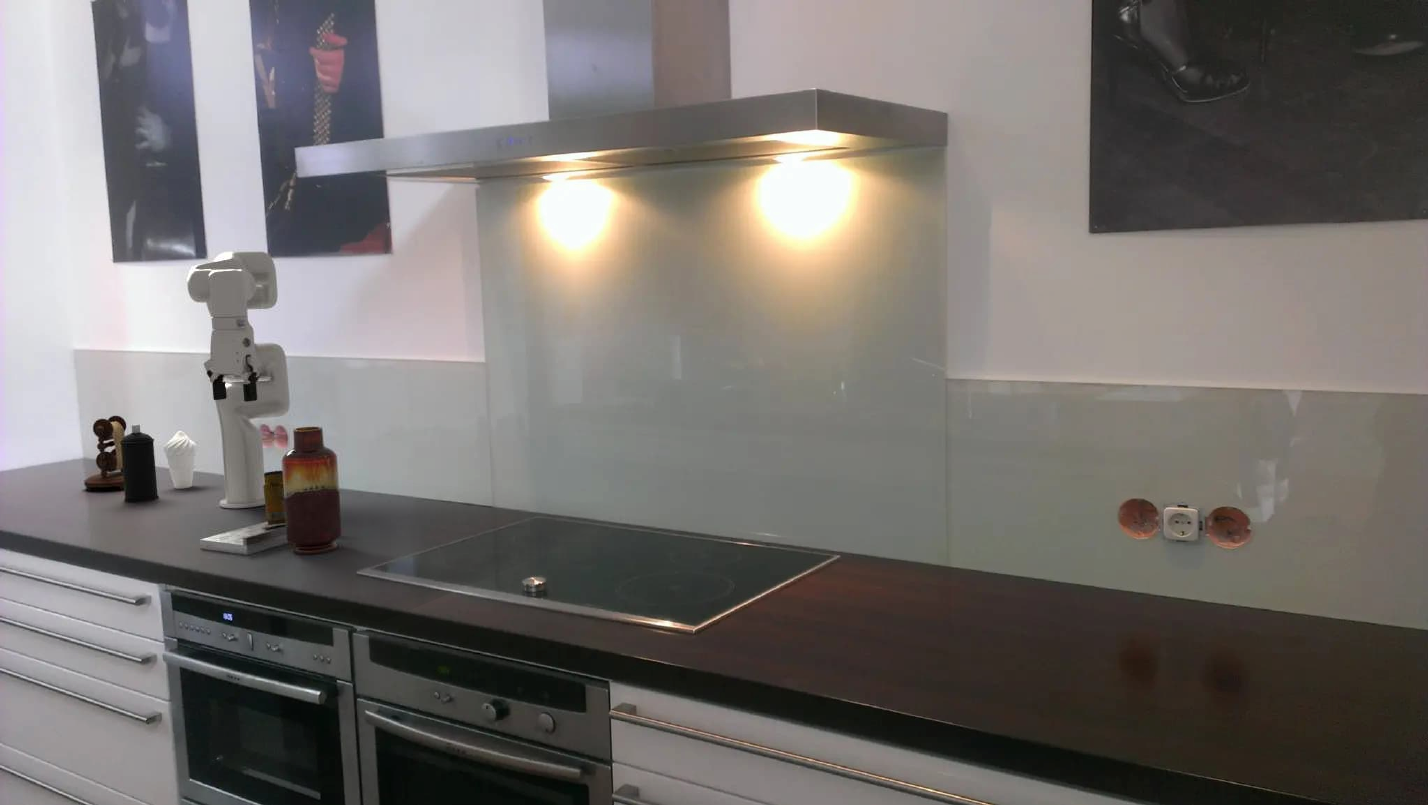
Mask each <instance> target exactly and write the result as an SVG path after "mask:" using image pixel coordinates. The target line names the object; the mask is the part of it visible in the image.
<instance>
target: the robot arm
mask: <svg viewBox="0 0 1428 805" xmlns="http://www.w3.org/2000/svg"><path fill="white" fill-rule="evenodd" d="M186 283H187V290H188V291H187V292H188V295H189V297H190V298H191V300H193V301H194V303H195V302H196V303H204V304H205V303H206V307H207V310H208V313H209V315H210V318H211V329H212V331H211V335H210V347H209V348H210V351H209V352H210V354H209V356H210V358H209V359H207V361H204V363H203V366H204V368H205V371H206V375H207V377H208V378H209V381H210V383H211V384H212V397H213V400H214V402H215V406H216V411H217V414H218V420H219V425H220V426H219V427H220V434H221V443H222V444H221V446H222V447H221V448H222V459H223V473H224V475H223V476H224V490H225V498H223V499H221V500H219V507H221V508H225V509H248V508H254V507H255V508H256V507H259V506H265V498H264V489H263V486H264V484H265V481H264V480H265V478H264V473H265V462H264V445H263V444H264V443H263V435H262V433H261V431H260V430H259V428H257V426H256V425H254V424H253V422H252V421H251V420H253V419H265V418H279V417H284V416H285V415H286V414H287V413H288V412H289V410H290V405H291V404H290V401H291V400H290V387H289V377H288V365H287V358H286V357H287V356H286V353H285V350H284V349H283V347H282V346H281V345H280V344H278V343H273V342H265V343H264V342H263V343H261V342H260V343H255V333H254V332H255V331H254V328H253V327H252V325H251V324H250V321H249V317H248V315H249V314H248V310H267V309H272V308H273V307H275V306H276V304H277V302H278V294H279V293H278V282H277V269H276V265H275V263H274V260H273V258H272V256H271V255H270V254H268V252H264V251H227V252H223V253H221V254H219V255H217V257H215V259H213V261H210V262H205V263H200V264H197V265H195V266H192V267H191V269H190V270H189V273H188V276H187V282H186ZM225 379H226V380H227V381H228V380H229V381H231V382H228V383H226V381H224V380H225Z"/></svg>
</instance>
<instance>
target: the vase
mask: <svg viewBox="0 0 1428 805" xmlns="http://www.w3.org/2000/svg"><path fill="white" fill-rule="evenodd" d="M292 430H293V431H292V432H293V448H292V449H290V450H289V451H287V452H285V454H284V455H283V457H282V459H281V468H282V470H281V471H282V473H283V490H284V505H285V520H286V533H287V540H288V541H289V543H291V544H294V546H293V547H292V550H291V551H292V552H293V553H294V554H297V555H318V554H324V553H330V552H332V551H335V550H337V549H338V544H337V543H336V542H335V541H336V540H338V539H339V538H340V537H341V535H342V520H341V518H342V517H341V516H342V515H341V502H340V499H341V498H340V483H339V481H340V480H339V467H338V466H339V464H338V456H337V454H336V453H335V451H334V450H333V449H331V448H329V447H326V446H325V443H324V434H323V433H324V432H323V427H321V426H303V427H296V428H294V429H292Z"/></svg>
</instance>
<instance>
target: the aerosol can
mask: <svg viewBox="0 0 1428 805" xmlns="http://www.w3.org/2000/svg"><path fill="white" fill-rule="evenodd" d="M154 441H155V438H152V436H151V435H149V434H147V433H143V432H141V425H140V424H138V423H137V424H132V425H131V432H130V433H129V434H125V437H124V438H123V439H122V440H121V441H120V442H119V443H120V444H121V454H122V467H123V479H124V490H123V492H124V499H123V501H124V502H125V503H143V502H144V503H145V502H149V501H150V500H151V501H154V500H157V499H159V497H160V496H159V494H158V485H157V483H158V482H157V473H156V472H157V470H156V458H155V446H154Z"/></svg>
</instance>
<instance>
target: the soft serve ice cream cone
mask: <svg viewBox="0 0 1428 805" xmlns="http://www.w3.org/2000/svg"><path fill="white" fill-rule="evenodd" d="M197 447H198V446H197V443H196V442H195V441H193V440H191V439H190V438H189V436H188V435H187V434H186V433H185V432H183V431H182V430H179V431H177V432H176V433H175V434H174V436H173V437H172V438H171V439H170V440H169V441H168V442H166V443H165V445H164V446H163V452H164V454H165V455H166V459H167V465H168V471H169V473H170V477H171V480H172V483H173V486H174V489H178V490H179V489H189V488H191V487H192V485H193V478H194V470H195V468H196V467H195V457H196V451H197V449H198V448H197Z"/></svg>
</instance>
